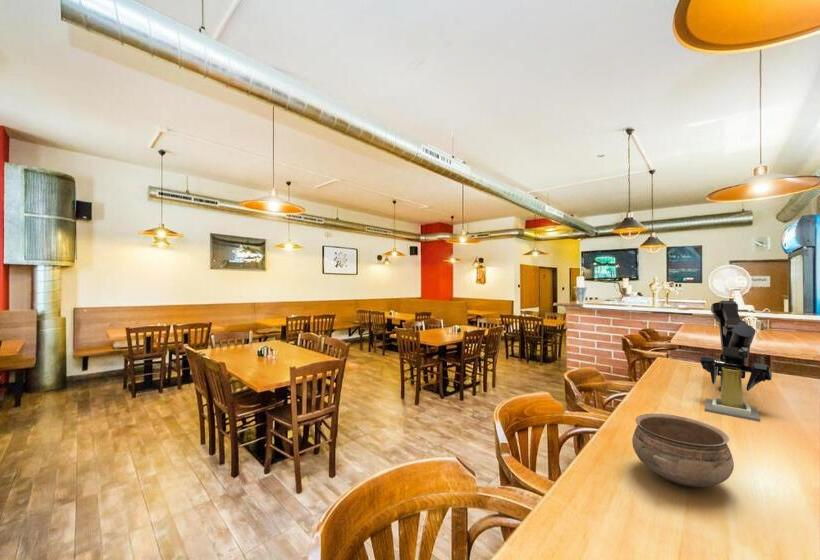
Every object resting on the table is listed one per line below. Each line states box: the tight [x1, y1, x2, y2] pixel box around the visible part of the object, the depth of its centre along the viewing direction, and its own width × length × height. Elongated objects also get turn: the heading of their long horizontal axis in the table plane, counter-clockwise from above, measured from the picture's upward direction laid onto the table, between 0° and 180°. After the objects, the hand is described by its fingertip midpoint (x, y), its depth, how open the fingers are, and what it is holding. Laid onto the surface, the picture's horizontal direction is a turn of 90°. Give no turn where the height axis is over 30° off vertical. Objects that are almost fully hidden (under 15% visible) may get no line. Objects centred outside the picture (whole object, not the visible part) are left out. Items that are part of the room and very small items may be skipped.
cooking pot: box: [631, 413, 735, 488], centre depth 83 cm, size 25×19×12 cm
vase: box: [720, 367, 743, 409], centre depth 125 cm, size 6×6×14 cm
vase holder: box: [704, 396, 761, 422], centre depth 125 cm, size 14×14×2 cm
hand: (729, 386), depth 124 cm, fingers open, 9 cm apart
